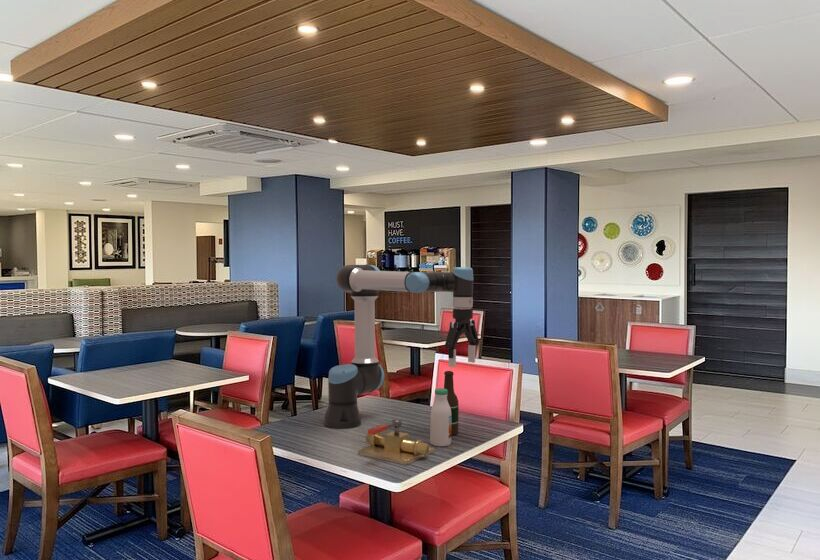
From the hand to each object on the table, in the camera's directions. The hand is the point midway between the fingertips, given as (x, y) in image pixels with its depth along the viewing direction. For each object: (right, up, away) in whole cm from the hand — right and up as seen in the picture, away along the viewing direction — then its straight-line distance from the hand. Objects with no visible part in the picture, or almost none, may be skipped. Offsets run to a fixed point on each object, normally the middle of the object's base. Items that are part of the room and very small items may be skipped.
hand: (462, 364), depth 236 cm
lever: (-28, -18, -25) cm, 42 cm away
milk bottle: (-8, -28, -8) cm, 30 cm away
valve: (-24, -28, -19) cm, 42 cm away
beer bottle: (-5, -28, +6) cm, 29 cm away
